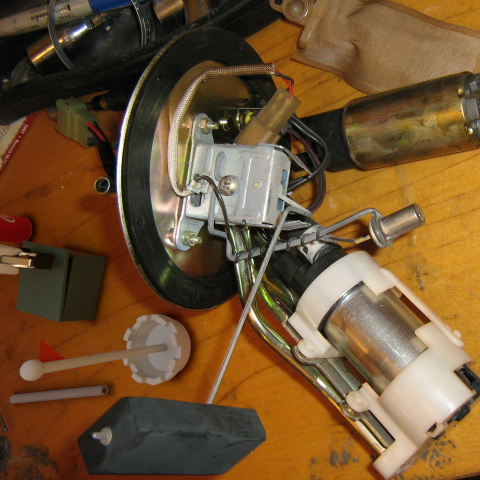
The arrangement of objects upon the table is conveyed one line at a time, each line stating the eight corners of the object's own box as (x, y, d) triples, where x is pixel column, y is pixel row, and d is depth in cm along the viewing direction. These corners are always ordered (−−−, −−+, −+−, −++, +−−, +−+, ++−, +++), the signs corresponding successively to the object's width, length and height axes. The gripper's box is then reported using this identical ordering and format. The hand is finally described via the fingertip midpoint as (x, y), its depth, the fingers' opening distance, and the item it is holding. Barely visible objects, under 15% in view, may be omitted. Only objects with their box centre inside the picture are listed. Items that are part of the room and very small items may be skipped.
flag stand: (206, 351, 88) (71, 380, 60) (163, 394, 91) (14, 440, 63) (171, 299, 92) (29, 304, 64) (131, 341, 95) (-22, 363, 67)
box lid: (26, 240, 96) (-1, 240, 90) (69, 250, 91) (43, 250, 86) (19, 308, 96) (-8, 312, 91) (62, 321, 92) (35, 326, 87)
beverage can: (27, 212, 110) (-26, 203, 99) (38, 230, 108) (-15, 224, 97) (12, 230, 111) (-42, 224, 100) (23, 249, 109) (-31, 244, 98)
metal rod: (109, 393, 96) (101, 395, 94) (18, 402, 105) (9, 404, 103) (108, 384, 96) (100, 386, 94) (17, 393, 105) (9, 395, 103)
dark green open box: (65, 248, 104) (32, 245, 97) (106, 257, 100) (75, 255, 92) (53, 307, 104) (20, 309, 97) (94, 319, 99) (62, 322, 92)
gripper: (-96, 266, 79) (8, 270, 95) (-33, 283, 72) (67, 284, 89) (-87, 222, 79) (15, 234, 96) (-23, 236, 73) (74, 246, 89)
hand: (39, 258), depth 92 cm, fingers closed on box lid, 6 cm apart
